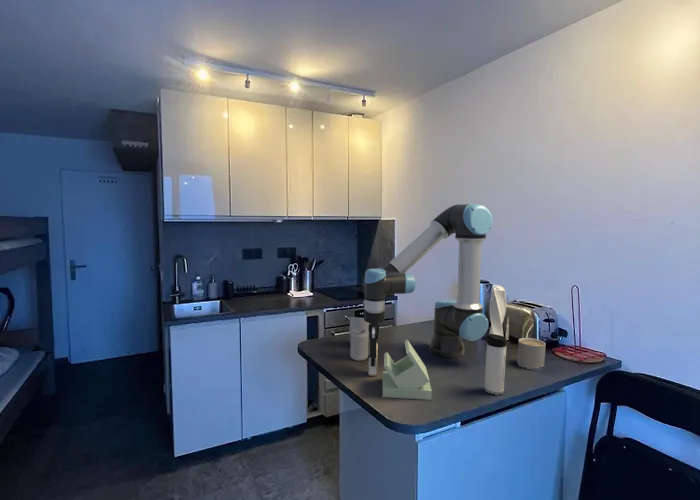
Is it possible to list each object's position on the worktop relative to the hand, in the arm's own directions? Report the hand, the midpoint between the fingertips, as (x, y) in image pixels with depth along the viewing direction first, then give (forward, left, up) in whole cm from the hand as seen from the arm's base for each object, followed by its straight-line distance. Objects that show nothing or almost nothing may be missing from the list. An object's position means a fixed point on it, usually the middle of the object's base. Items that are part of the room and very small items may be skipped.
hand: (372, 371), depth 149 cm
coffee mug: (-65, -18, -1) cm, 67 cm away
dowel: (0, 0, -1) cm, 1 cm away
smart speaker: (+7, -32, -1) cm, 33 cm away
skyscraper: (-59, -48, -2) cm, 76 cm away
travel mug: (-42, +9, -1) cm, 43 cm away
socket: (-12, +11, -1) cm, 16 cm away
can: (+6, -16, -1) cm, 17 cm away
